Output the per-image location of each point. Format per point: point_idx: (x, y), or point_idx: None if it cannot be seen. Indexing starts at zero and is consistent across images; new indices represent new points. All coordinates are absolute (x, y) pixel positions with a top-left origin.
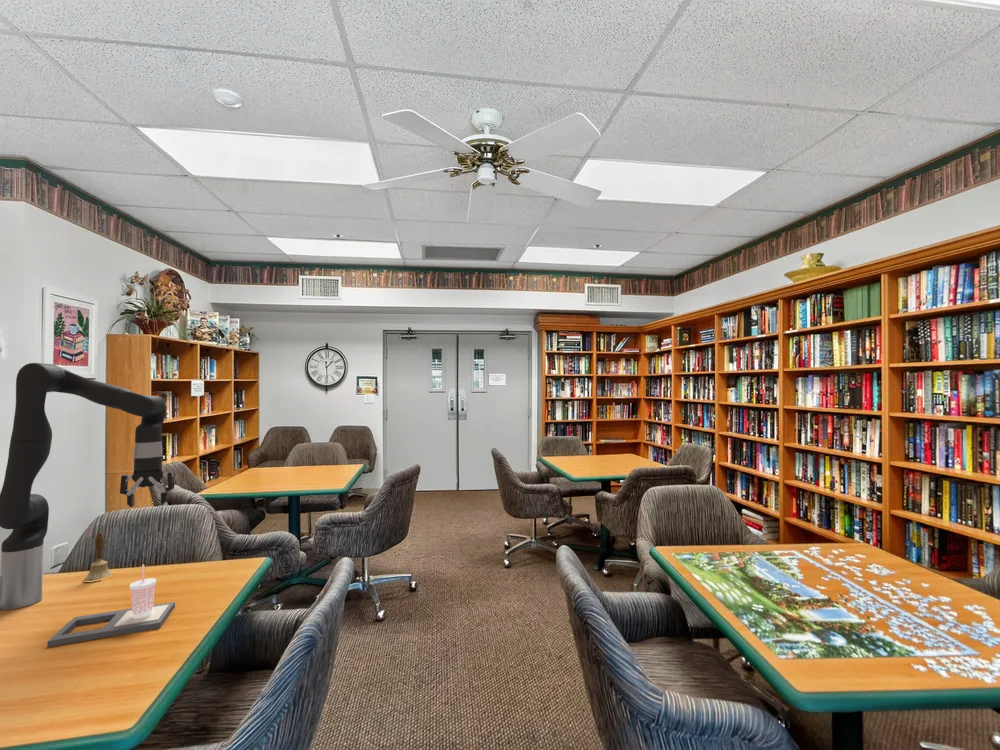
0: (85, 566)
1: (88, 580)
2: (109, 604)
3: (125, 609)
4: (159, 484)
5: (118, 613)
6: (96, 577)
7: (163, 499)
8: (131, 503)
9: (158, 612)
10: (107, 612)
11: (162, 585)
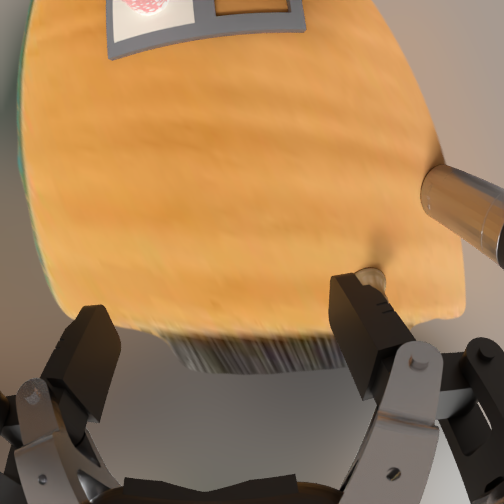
0: None
1: (376, 272)
2: (277, 110)
3: (206, 34)
4: (19, 466)
5: (212, 17)
6: (366, 277)
7: (73, 335)
8: (345, 290)
9: (121, 7)
10: (242, 29)
11: (201, 204)
